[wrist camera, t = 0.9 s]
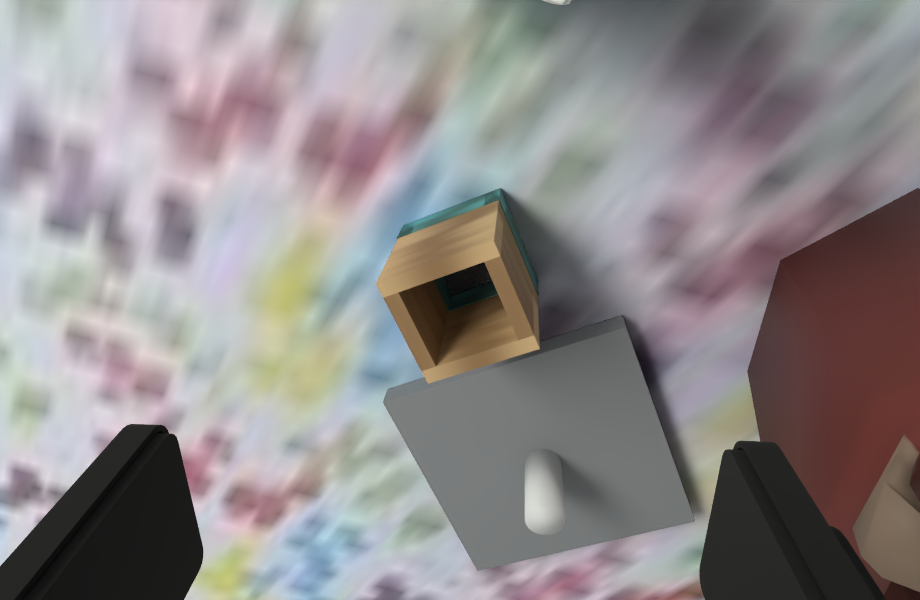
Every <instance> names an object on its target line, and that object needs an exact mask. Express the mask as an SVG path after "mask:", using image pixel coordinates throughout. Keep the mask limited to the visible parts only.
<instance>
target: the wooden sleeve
mask: <svg viewBox="0 0 920 600" xmlns="http://www.w3.org/2000/svg"><path fill="white" fill-rule="evenodd" d="M397 239H398V240H397V242H396V244H395V246H394V248H393V250H392V252H391V254H390V256H389V258H388V260H387V262H386V264H385V266H384V268H383V270H382V272H381V274H380V276H379V279H378V281H377V283H376V285H377V287H378V289H379V290H380V292H381V294H382V296H383V298H384V300H385V302H386V304H387V306H388V308H389V310H390V312H391V314H392V315H393V317H394V319H395V321H396V323H397V325H398V327H399V329H400V331H401V333H402V335H403V337H404V339H405V340H406V342H407V344H408V346H409V348H410V350H411V352H412V354H413V356H414V358H415V360H416V362H417V364H418V365H419V367H420V369H421V371H422V373H423V375H424V377H425V379H426V381H427V383H428V384H429V383H432V382H435V381H439V380H442V379H445V378H448V377H451V376H455V375H458V374H461V373H464V372H467V371H471V370H474V369H477V368H480V367H483V366H487V365H490V364H493V363H496V362H499V361H503V360H506V359H509V358H512V357H515V356H519V355H522V354H525V353H528V352H531V351H535V350H538V349H540V341H539V317H538V295H539V291H538V279H537V277H536V274H535V272H534V270H533V267H532V265H531V262H530V260H529V257H528V255H527V252H526V250H525V247H524V245H523V242H522V240H521V238H520V235H519V233H518V230H517V228H516V225H515V223H514V220H513V218H512V215H511V213H510V210H509V208H508V205H507V203H506V201H505V198H504V196H503V193H502V191H501V188H500V189H497V190H494V191H492V192H489V193H487V194H484V195H481V196H479V197H476V198H474V199H471V200H468V201H466V202H463V203H461V204H458V205H455V206H453V207H450V208H448V209H445V210H442V211H440V212H437V213H435V214H432V215H429V216H427V217H424V218H422V219H419V220H416V221H414V222H411V223H409V224H406V225H404V226H403V227H402V229H401V231H400V233H399V235H398V237H397ZM483 262H484V263H485V265H486V267H487V270H488V272H489V274H490V277H491V279H492V281H493V282H490V283H487V284H485V285H482V286H479V287H476V288H473V289H470V290H467V291H464V292H462V293H459V294H456V295H453V296H452V293H451V291H450V289H449V287H448V285H447V283H446V281H445V279H444V276H446V275H449V274H452V273H454V272H457V271H460V270H463V269H466V268H468V267H471V266H474V265H477V264H480V263H483Z"/></svg>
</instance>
